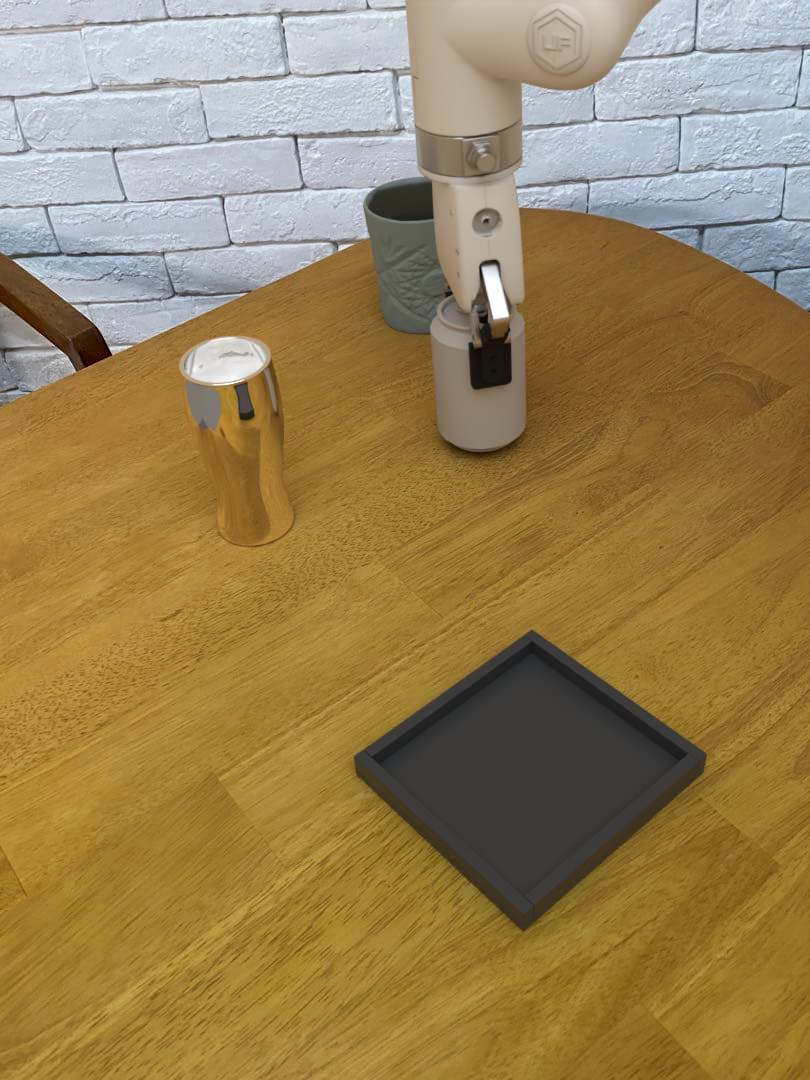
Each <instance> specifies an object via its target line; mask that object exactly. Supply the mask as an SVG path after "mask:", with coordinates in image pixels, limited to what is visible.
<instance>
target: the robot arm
mask: <svg viewBox="0 0 810 1080" xmlns="http://www.w3.org/2000/svg"><path fill="white" fill-rule="evenodd" d="M661 1H662V0H405V1H404V2H405V3H404V4H405V16H406V17H405V18H406V30H407V42H408V54H409V57H408V58H409V69H410V70H409V71H410V81H411V82H410V83H411V94H412V95H411V96H412V107H413V109H412V110H413V120H414V121H413V122H414V134H415V135H414V136H415V147H416V148H415V149H416V150H415V151H416V163H417V170H418V172H419V174H420V175H422V177H427V178H428V179H430V180H432V192H433V213H434V228H435V238H436V247H437V254H438V259H439V263H440V266H441V268H442V271H443V273H444V275H445V285H446V288H447V290H452V291H448V292H445V298H447V297H449V296H451V295H453V294H454V296H455V298H456V300H457V302H458V304H459V306H460V308H461V309H463V310H464V311H466V312H468V315H469V321H470V328H471V334H472V341H473V342H469V343H468V346H469V365H470V383H471V386H472V388H473V389H474V390H478V389H484V388H490V387H496V386H501V385H507V384H509V383H511V381H512V359H511V333H510V327H509V326H510V316H509V312H508V307H507V303H506V299H505V294H506V296H507V297H508V299H509V301H510V303H511V305H513V304H516V306H520V305H522V304H523V303H524V301H525V298H526V295H525V294H526V292H525V272H524V257H523V256H524V255H523V242H522V241H523V240H522V230H521V229H522V228H521V227H522V226H521V215H520V206H519V197H518V190H517V184H516V177H515V174H514V173H516V172H517V171H518V170H519V169H520V168H521V167H522V166H523V161H524V153H523V150H524V147H523V145H524V144H523V142H524V141H523V84H525V85H529V86H532V87H537V88H542V89H545V90H546V89H547V90H553V91H562V92H563V91H564V92H566V91H578V90H583V89H586V88H588V87H591V86H593V85H595V84H597V83H599V82H600V81H601V80H602V79H604V78H605V77H606V76H607V75H609V74H610V73H611V71H612V70H613V69H614V68H615V66H617V64H618V62H619V61H620V59H621V58H622V55H623V53H624V52H625V50H626V49H627V47H628V45H629V43H630V42H631V39H632V37H633V36H634V33H635V32H636V30H637V28H638V27H639V25H640V24H641V22H642V20H643V19H644V18H645V17H646V16H647V15H648V14H649V13H650V12H651V11H652V10H653V9H654V8H655V7H656V6H657V5H658V4H659V3H661ZM482 295H484V297H485V301H486V303H483V304H477V305H475V304H474V300H475V299H476V296H482ZM486 311H488V323H486V324H483V326H482V328H481V330H480V323H479V317H478V313H480V312H486Z"/></svg>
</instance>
